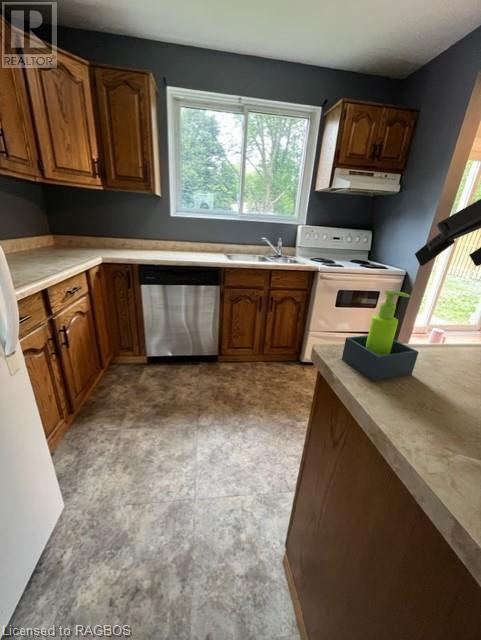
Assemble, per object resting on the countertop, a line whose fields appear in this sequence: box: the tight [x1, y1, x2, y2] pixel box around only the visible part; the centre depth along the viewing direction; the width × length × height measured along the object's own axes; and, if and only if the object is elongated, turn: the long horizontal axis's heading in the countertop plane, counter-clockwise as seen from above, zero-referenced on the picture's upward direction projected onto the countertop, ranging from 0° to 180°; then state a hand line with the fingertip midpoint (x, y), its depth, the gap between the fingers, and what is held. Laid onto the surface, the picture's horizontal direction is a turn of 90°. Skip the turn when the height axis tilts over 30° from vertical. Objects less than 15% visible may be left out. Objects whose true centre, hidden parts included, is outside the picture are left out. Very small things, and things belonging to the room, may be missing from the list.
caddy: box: [341, 334, 419, 382], centre depth 71 cm, size 13×12×7 cm
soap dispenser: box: [365, 290, 412, 355], centre depth 69 cm, size 6×7×20 cm
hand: (447, 260), depth 52 cm, fingers open, 13 cm apart
